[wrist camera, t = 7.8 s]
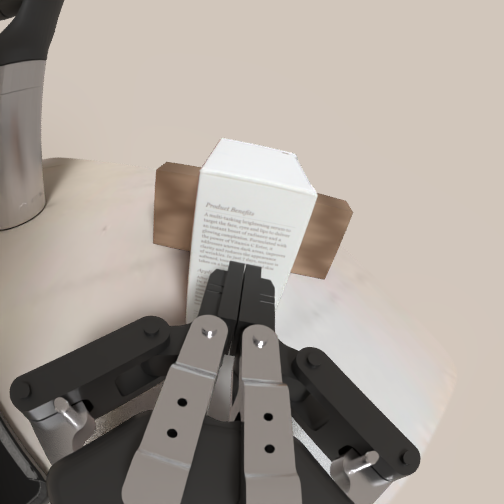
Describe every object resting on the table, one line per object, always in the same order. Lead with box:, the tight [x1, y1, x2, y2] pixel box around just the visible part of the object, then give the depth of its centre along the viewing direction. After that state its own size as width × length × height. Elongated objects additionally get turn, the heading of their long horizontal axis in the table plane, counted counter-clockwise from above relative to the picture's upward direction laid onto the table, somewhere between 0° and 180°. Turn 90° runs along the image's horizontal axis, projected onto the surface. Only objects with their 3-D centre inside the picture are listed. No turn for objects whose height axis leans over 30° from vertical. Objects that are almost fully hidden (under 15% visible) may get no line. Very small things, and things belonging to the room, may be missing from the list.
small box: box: [185, 138, 318, 324], centre depth 18 cm, size 8×6×10 cm
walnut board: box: [153, 162, 353, 279], centre depth 23 cm, size 16×2×7 cm, turn 86°
